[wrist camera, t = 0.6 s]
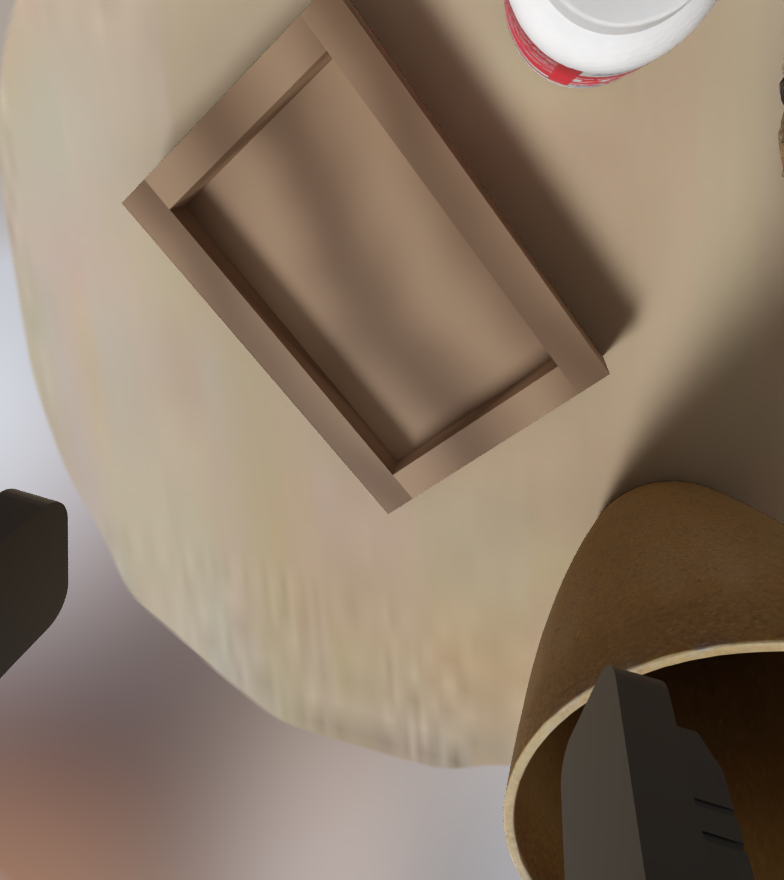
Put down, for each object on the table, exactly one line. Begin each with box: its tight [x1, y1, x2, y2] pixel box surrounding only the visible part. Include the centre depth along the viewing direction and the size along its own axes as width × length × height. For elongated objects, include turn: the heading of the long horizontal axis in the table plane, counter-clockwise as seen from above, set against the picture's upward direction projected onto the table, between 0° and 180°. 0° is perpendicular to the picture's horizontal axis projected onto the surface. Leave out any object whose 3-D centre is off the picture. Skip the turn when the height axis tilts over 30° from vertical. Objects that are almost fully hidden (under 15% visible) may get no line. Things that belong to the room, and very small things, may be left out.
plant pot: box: [503, 481, 784, 880], centre depth 27 cm, size 15×15×16 cm
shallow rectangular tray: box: [122, 0, 609, 514], centre depth 30 cm, size 12×18×2 cm, turn 39°
